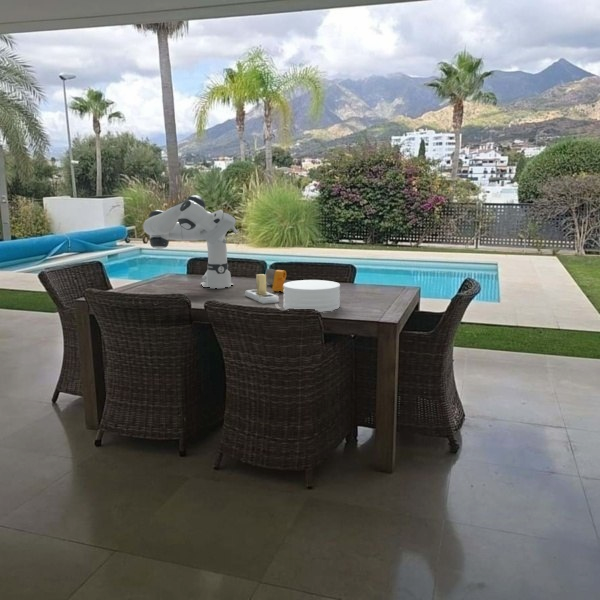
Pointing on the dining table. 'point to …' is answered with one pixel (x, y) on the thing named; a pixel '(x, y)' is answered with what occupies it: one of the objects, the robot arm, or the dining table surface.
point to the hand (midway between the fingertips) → (231, 237)
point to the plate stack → (311, 295)
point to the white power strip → (262, 297)
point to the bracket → (279, 280)
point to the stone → (270, 276)
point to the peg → (260, 284)
